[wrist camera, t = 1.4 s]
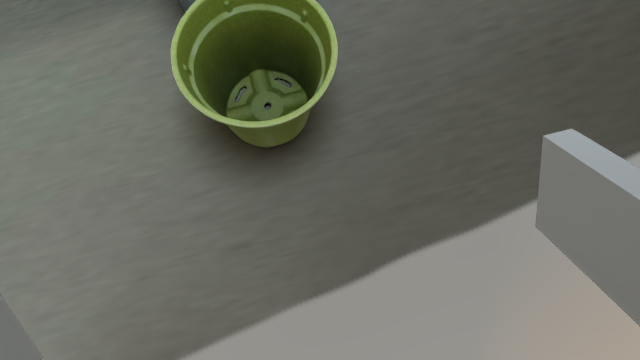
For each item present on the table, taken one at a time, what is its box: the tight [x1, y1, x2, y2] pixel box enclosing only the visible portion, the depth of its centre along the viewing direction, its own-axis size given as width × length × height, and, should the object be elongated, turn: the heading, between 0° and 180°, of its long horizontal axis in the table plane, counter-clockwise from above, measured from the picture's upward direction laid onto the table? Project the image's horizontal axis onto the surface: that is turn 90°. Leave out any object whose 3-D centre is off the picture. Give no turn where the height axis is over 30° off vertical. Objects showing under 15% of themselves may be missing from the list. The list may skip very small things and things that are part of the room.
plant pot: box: [171, 0, 338, 147], centre depth 31 cm, size 9×9×9 cm
